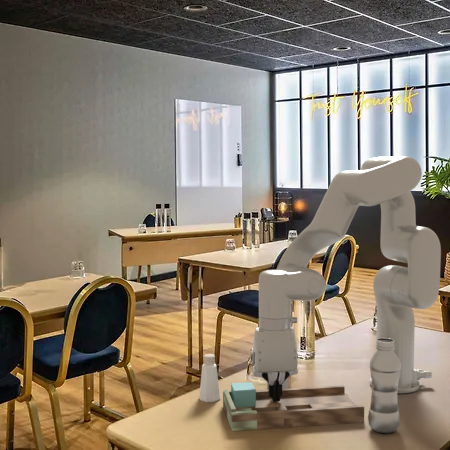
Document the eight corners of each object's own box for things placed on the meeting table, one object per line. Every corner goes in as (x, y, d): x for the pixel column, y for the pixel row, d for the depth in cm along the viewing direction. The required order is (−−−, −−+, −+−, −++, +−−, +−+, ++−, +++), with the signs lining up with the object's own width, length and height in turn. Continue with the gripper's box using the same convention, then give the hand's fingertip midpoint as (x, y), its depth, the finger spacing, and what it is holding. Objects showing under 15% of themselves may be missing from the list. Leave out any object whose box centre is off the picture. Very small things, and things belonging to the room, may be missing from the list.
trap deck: (343, 399, 150) (343, 381, 150) (364, 421, 136) (364, 402, 136) (223, 406, 146) (222, 388, 145) (232, 431, 132) (232, 410, 132)
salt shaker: (204, 403, 148) (204, 359, 147) (195, 396, 152) (194, 353, 151) (224, 399, 150) (224, 356, 149) (214, 392, 155) (214, 350, 154)
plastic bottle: (363, 425, 135) (364, 336, 133) (393, 423, 135) (395, 335, 133) (373, 437, 128) (374, 344, 126) (404, 436, 129) (406, 343, 127)
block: (251, 398, 146) (251, 382, 145) (255, 406, 141) (255, 389, 140) (231, 399, 145) (231, 383, 144) (234, 407, 140) (234, 390, 140)
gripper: (301, 317, 147) (301, 391, 148) (240, 320, 145) (241, 395, 146) (310, 325, 139) (310, 403, 141) (246, 328, 137) (247, 407, 139)
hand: (275, 399), depth 143 cm, fingers closed
